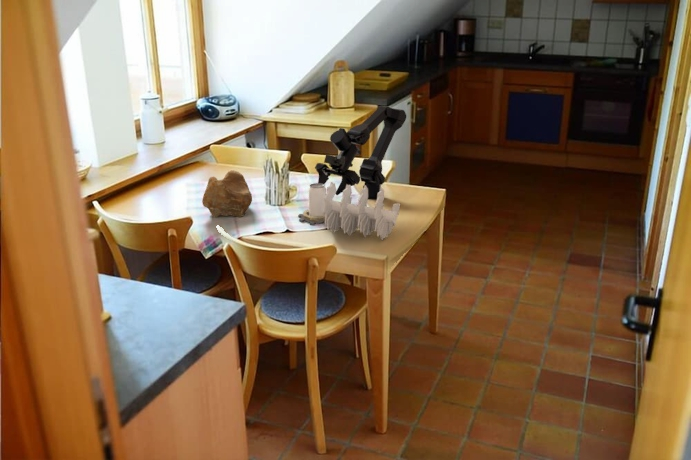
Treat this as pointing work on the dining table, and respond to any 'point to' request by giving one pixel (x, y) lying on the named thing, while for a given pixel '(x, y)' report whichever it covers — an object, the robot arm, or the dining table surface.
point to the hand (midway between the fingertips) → (327, 192)
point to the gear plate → (311, 218)
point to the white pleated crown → (358, 213)
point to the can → (317, 199)
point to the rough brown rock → (227, 195)
